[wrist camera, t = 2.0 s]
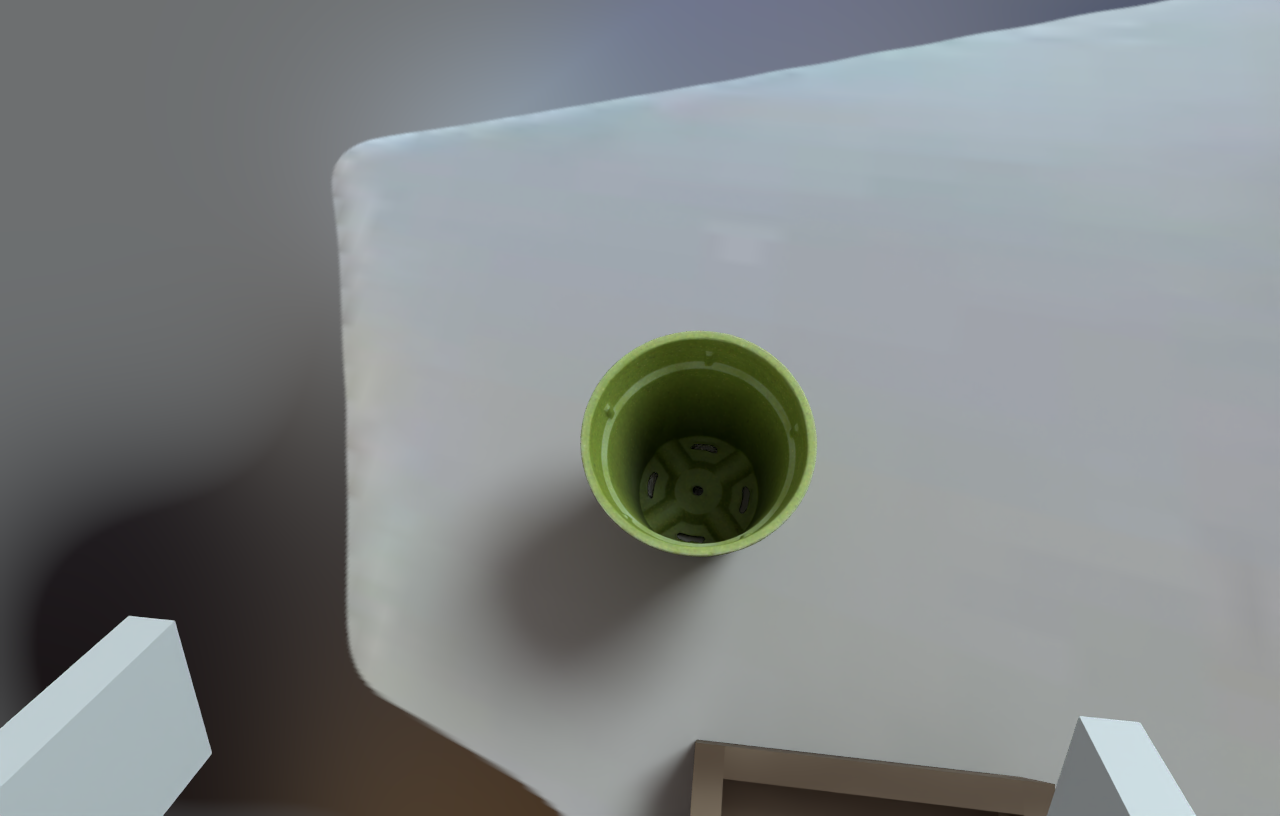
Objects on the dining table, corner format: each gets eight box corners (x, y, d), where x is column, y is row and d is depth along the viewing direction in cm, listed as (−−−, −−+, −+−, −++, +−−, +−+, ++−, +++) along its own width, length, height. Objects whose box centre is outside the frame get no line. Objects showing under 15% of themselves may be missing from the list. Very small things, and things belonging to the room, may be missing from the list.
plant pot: (802, 416, 40) (824, 341, 32) (786, 602, 36) (808, 570, 28) (623, 397, 41) (601, 320, 33) (592, 575, 38) (560, 537, 30)
